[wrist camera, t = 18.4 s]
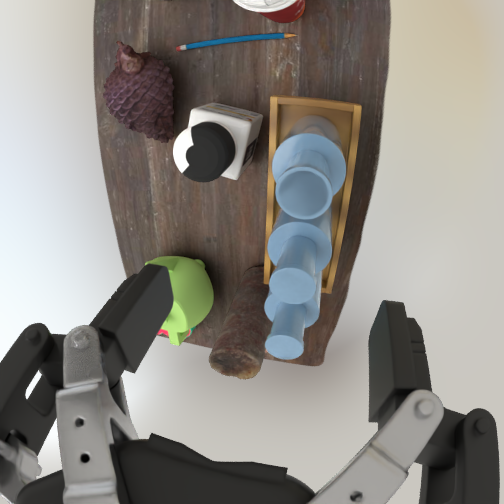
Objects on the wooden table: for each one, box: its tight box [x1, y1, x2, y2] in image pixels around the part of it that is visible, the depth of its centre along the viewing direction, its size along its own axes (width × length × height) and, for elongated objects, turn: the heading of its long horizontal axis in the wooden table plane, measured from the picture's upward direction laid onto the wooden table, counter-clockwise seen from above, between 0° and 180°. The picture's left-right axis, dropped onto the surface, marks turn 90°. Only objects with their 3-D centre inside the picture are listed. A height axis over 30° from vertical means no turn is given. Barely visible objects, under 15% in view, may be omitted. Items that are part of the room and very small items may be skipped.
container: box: [173, 103, 263, 182], centre depth 36 cm, size 8×8×13 cm
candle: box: [209, 267, 273, 379], centre depth 47 cm, size 8×7×20 cm
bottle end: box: [264, 267, 323, 359], centre depth 33 cm, size 6×6×16 cm
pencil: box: [176, 33, 297, 51], centre depth 33 cm, size 1×17×1 cm, turn 95°
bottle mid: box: [267, 202, 332, 304], centre depth 29 cm, size 6×6×16 cm
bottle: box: [272, 115, 346, 220], centre depth 25 cm, size 6×6×16 cm
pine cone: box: [103, 41, 174, 143], centre depth 36 cm, size 18×10×10 cm
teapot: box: [145, 256, 214, 346], centre depth 54 cm, size 20×13×13 cm
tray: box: [264, 95, 362, 294], centre depth 38 cm, size 25×9×10 cm, turn 179°
